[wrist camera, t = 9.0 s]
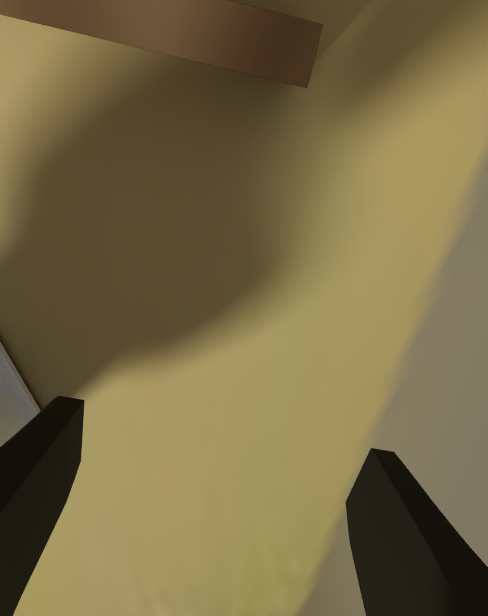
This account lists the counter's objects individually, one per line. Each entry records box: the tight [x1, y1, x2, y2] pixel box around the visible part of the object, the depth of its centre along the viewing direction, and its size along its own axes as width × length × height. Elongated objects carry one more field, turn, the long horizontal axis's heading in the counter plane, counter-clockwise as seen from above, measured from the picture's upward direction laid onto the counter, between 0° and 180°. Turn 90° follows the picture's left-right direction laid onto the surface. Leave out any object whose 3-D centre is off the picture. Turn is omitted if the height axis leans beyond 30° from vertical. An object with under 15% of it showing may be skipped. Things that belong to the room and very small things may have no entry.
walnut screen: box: [0, 0, 323, 88], centre depth 13 cm, size 14×2×4 cm, turn 78°
